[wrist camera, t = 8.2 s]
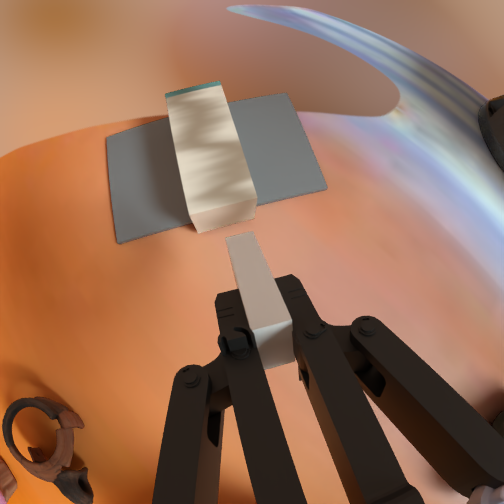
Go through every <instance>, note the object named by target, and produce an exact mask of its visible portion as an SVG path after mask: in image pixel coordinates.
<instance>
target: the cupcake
mask: <svg viewBox="0 0 504 504" xmlns="http://www.w3.org/2000/svg"><path fill="white" fill-rule="evenodd" d="M16 489H17V482H16V480H15V478H14V477H13V475H12V473H11V472H10V470H9V468H8V467H7V465H6V463H5V462H4V461H3V460H1V459H0V504H7V502H8V500H9V498H10V497H11V496H12V494H13V493H14V492H15V490H16Z"/></svg>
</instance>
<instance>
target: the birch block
mask: <svg viewBox="0 0 504 504" xmlns="http://www.w3.org/2000/svg"><path fill="white" fill-rule="evenodd" d="M165 97H166V103H167V108H168V114H169V120H170V125H171V131H172V136H173V141H174V146H175V151H176V156H177V161H178V166H179V171H180V176H181V181H182V185H183V190H184V194H185V199H186V203H187V208H188V212H189V216H190V218H191V220H192V222H193V224H194V226H195V228H196V230H197V232H198V233H202V232H206V231H209V230H213V229H217V228H221V227H224V226H228V225H232V224H236V223H240V222H243V221H247V220H251V219H254V217H255V211H256V204H257V198H258V197H257V194H256V191H255V188H254V185H253V181H252V178H251V175H250V172H249V169H248V165H247V162H246V159H245V156H244V153H243V150H242V147H241V144H240V140H239V137H238V134H237V131H236V128H235V125H234V122H233V119H232V116H231V113H230V110H229V107H228V104H227V101H226V98H225V95H224V92H223V89H222V86H221V83H220V81H216V82H211V83H207V84H202V85H198V86H193V87H190V88H185V89H181V90H177V91H174V92H170V93H166V94H165Z"/></svg>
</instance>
